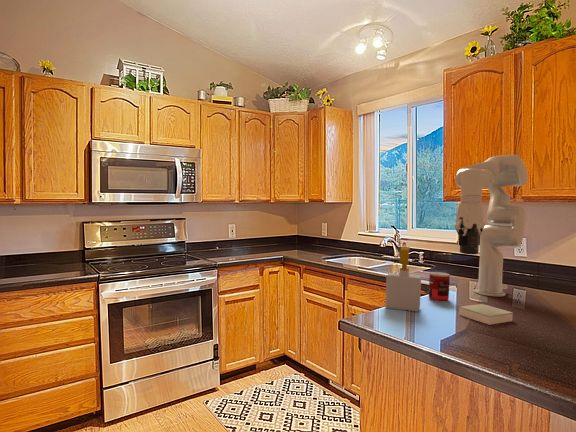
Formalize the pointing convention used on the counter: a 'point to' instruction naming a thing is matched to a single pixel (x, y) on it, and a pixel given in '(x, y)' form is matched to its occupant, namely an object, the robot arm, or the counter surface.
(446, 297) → the canned food
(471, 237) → the supplement bottle
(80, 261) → the counter surface
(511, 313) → the plate
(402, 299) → the soap bottle
